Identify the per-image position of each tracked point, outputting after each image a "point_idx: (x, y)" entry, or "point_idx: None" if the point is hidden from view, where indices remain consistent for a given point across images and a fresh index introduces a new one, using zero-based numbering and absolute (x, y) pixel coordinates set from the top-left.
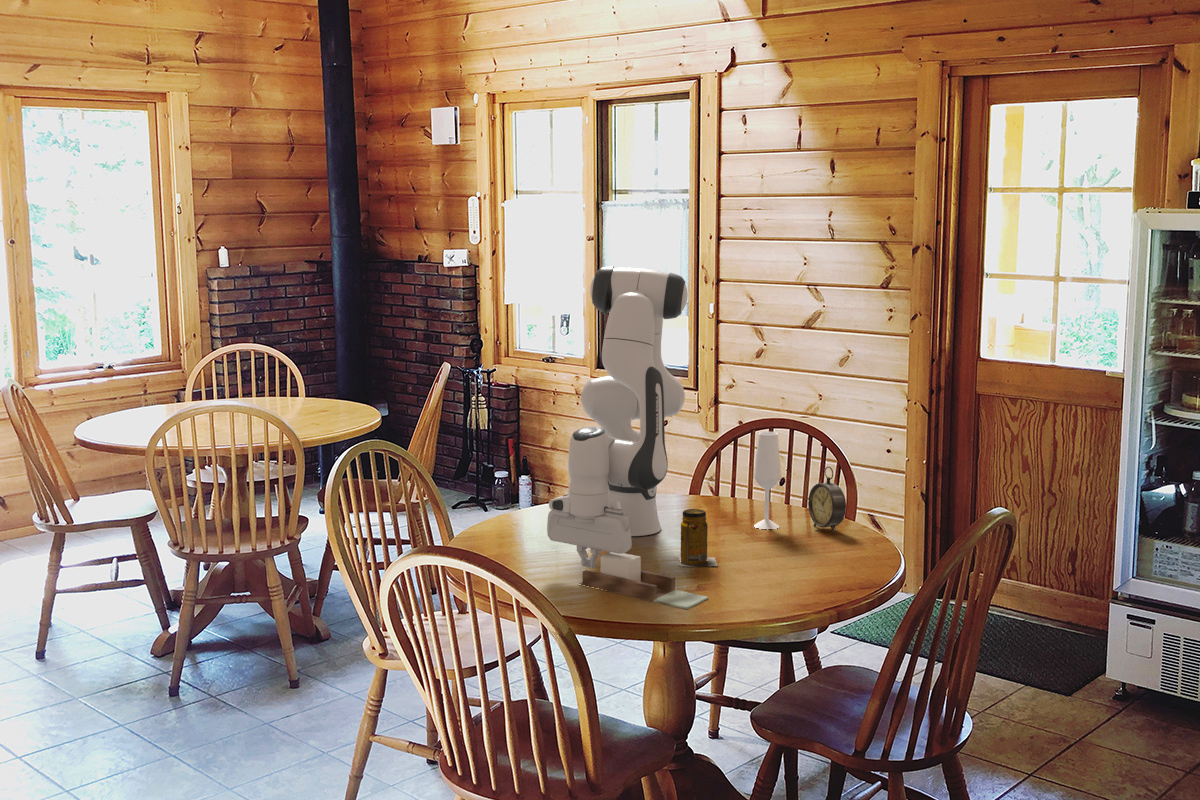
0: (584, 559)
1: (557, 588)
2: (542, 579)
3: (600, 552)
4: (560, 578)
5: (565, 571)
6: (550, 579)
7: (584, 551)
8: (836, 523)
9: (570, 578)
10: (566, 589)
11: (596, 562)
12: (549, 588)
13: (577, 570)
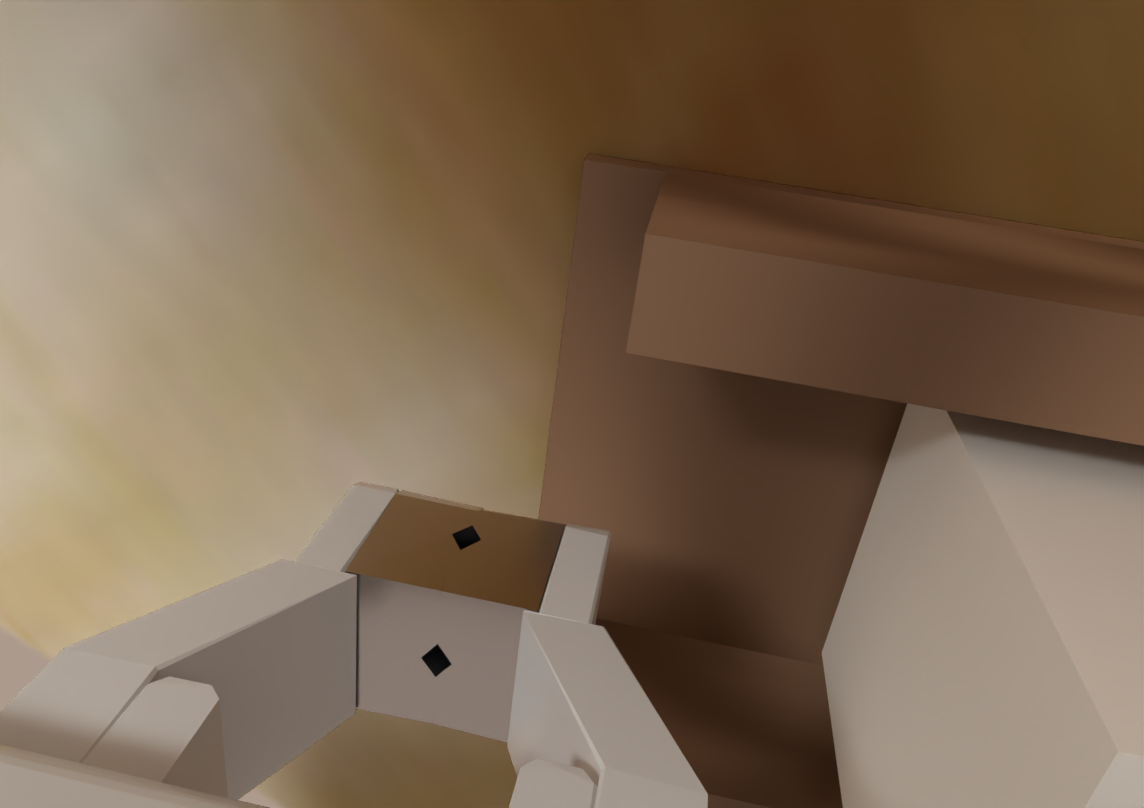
0: (383, 707)
1: (386, 782)
2: (57, 593)
3: (693, 795)
4: (182, 496)
5: (10, 198)
6: (121, 566)
7: (224, 689)
8: None
9: (278, 451)
10: (485, 784)
11: (601, 578)
12: (320, 799)
13: (101, 59)
